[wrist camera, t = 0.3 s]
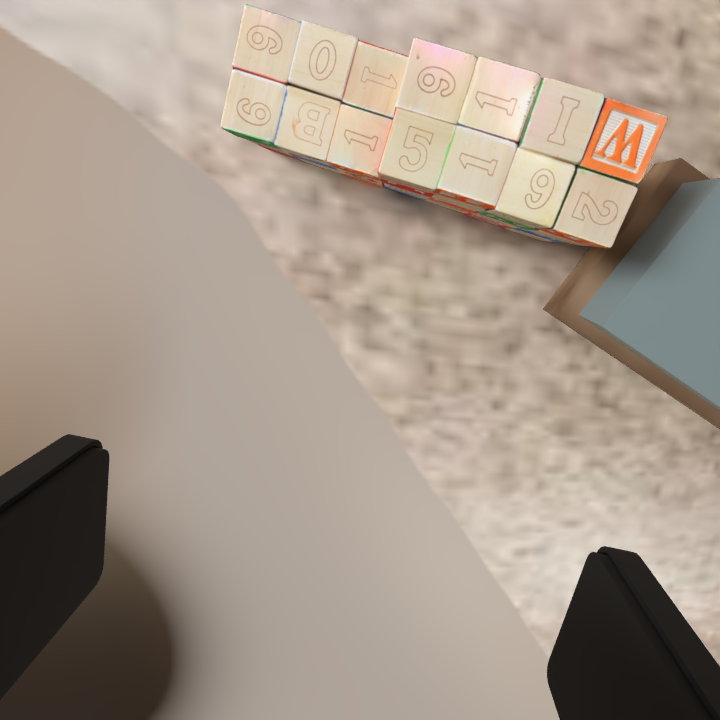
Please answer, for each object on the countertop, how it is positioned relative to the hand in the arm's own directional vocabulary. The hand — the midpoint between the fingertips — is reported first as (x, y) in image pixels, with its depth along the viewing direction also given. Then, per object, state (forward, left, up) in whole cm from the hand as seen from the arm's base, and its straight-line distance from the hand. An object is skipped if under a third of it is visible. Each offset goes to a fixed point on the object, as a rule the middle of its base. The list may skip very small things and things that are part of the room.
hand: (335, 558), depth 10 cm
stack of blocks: (-11, -4, -30) cm, 32 cm away
